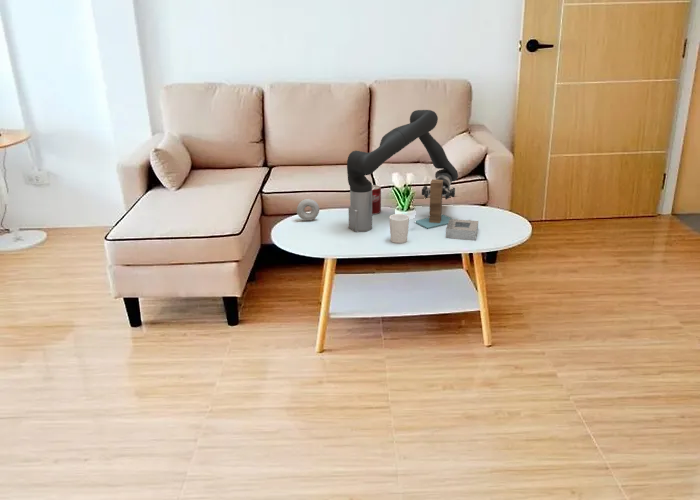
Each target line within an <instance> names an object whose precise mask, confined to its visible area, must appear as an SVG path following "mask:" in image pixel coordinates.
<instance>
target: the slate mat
mask: <svg viewBox="0 0 700 500" xmlns="http://www.w3.org/2000/svg"><path fill="white" fill-rule="evenodd" d="M450 219H453V218H452V217H451V216H450V217H449V216H447V215H445V214H442V216H441V222H440V223H431V222H429V217H426V218H425V217H424V218H422V219H417V220H415V221H416V223H415V224H416V225H418V226H420V227H422V228H424V229H426V230H430V229H434V228H438V227H442V226H447V225H448V222H449V220H450Z"/></svg>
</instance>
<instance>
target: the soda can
mask: <svg viewBox="0 0 700 500" xmlns="http://www.w3.org/2000/svg"><path fill="white" fill-rule="evenodd" d="M381 211H382V187H381V186H380V185H376V184H372V215H378V214H380V213H381Z"/></svg>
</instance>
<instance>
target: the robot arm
mask: <svg viewBox="0 0 700 500" xmlns="http://www.w3.org/2000/svg"><path fill="white" fill-rule="evenodd" d="M438 119H439V117H438V114H437V113H436V112H435V111H434V110H431V109H417V110H413V111H412V112H411V113H410V117H409V123H407V124H402V125H400V126H397V127H395V128H393V129H392V130H390V131H388V132H387V133H386V134H384V135H383V136H382V138H381V140H380V143H379V146H378V147H377V148H375V149H374V150H372V151H370V152H365V151H361V150H352V151H351V152H350V153H349V155H348V157H347V160H346V171H347V172H346V173H347V174H346V175H347V183H348V185H349V197H350V198H349V200H350V201H349V202H350V204H349V206H348V210H347V211H348V228H349V229H350V230H352V231H353V232H355V233H357V232H358V233H359V232H360V233H361V232H369V231H371V230H372V229H373V214H372V185H373V184H372V183H373V182H371V181H370V180H369V178H367V177H366V176H368V175H369V176H370V175H371V174H373V173H374V172H375V171H376V170H377V169H378V168H380V167H381V166H382V165H383V164H384V163H385V162H386V161H387V160H389V159H390V158H392V157H393V156H394V155H396V154H397V153H399V152H400V151H402V150H403V149H404V148H406V147H407V146H409V145H410V144H412V143H413V142H414V141H416V140H417V139H419V141H420V142H421V143H422V146H424V148H425V150H426V152H427V154H428V155H429V158H430V160H431V163H432V164H433V167H434V168H435V169H436V170H437V169H439V170H437V171H435V175H434V178H435V180H443V191H442V197H445V200H448V199H449V198H450V197H451V198H455V195H456V188H455V187H452V188H451V186H452V183H453V182H455V181H457V180H458V178H459V172H458V170H457V168H455V166H454V165H453V164H452V163H451V162H450V160H449V159H448V157H447V154H446V152H445V150H444V148H443V146H442V145H441V144H440V143H439V142H438V141H437V140H436V139H435V138H434V137H433V136H432V134H431V133H430V132H431V131H433V130H434V129H435V128H436V126H437V124H438ZM421 195H422V196H424V198H425V199H428V197H430V187H428V185H424V186H423V187H422V188H421Z"/></svg>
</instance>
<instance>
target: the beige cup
mask: <svg viewBox="0 0 700 500" xmlns="http://www.w3.org/2000/svg"><path fill="white" fill-rule="evenodd" d="M409 223H410V216H409V215H408V214H403V213H394V214H391V215H389V234H390V241H391V242H392V243H396V244H404V243H406V242H407V241H408V235H409V226H410V225H409Z"/></svg>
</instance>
